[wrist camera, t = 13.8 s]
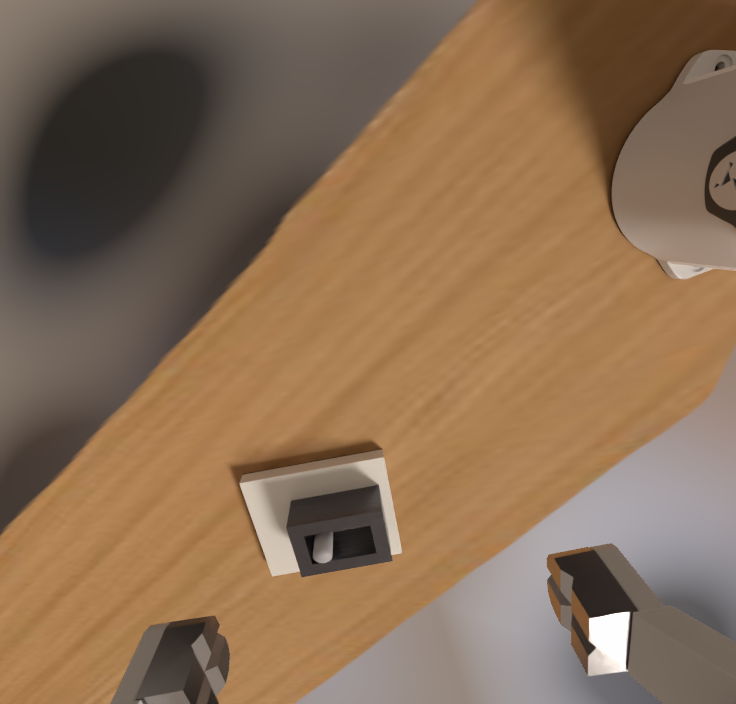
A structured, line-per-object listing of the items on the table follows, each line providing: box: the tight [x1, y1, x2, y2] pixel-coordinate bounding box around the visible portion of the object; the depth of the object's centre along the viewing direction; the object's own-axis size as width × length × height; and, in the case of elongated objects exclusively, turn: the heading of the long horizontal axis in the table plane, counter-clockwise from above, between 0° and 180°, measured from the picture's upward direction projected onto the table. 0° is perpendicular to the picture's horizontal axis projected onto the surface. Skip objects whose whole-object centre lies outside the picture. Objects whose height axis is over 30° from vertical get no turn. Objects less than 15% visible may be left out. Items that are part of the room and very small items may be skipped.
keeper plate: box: [239, 449, 402, 576], centre depth 44 cm, size 16×14×6 cm
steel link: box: [286, 485, 392, 577], centre depth 44 cm, size 10×7×4 cm
